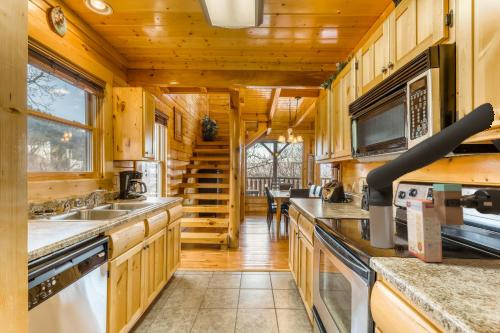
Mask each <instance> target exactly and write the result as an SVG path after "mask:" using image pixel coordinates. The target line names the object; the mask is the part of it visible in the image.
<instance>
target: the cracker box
mask: <svg viewBox="0 0 500 333" xmlns="http://www.w3.org/2000/svg"><path fill="white" fill-rule="evenodd" d="M406 220H407V221H406V222H407V223H406V224H407V242H408V243H407V244H408V253H410V254H412V255H414V256H415V257H416V258H418V259H419V260H421V261H422V262H424V263H435V262H442V263H443V250H442V249H443V248H442V230H441V229H442V228H441V225H442V224H440V223H436V222H435V212H434V205H433V204H432V199H431V200H430V199H425V198H406Z"/></svg>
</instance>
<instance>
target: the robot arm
mask: <svg viewBox="0 0 500 333" xmlns="http://www.w3.org/2000/svg"><path fill="white" fill-rule="evenodd" d="M494 115H495V114H494V111H493V107H492V105H491V104H490V103H488V102H485V103H483V104H480V105H479V106H477V107H476V108H474V109H473V110H470V111H469V112H468V113H467V114H465V115H464V116H462V117H461V118H459V119H458V120H457V121H455V122H454V123H452V124H450V125H449V126H447V127H444V128H443V129H441V130H440V131H438V132H436V133H435V134H432V135H430V136H429V137H427V138H426V139H424V140H422V141H420V142H418V143H416V144H415V145H413V146H412V147H410V148H409V149H407V150H406V151H404V152H403V153H401V154H400V155H398V156H397V157H395V158H394V159H392V160H390V161H389V162H386V163H385V164H382V165H379V166H377V167H375V168H373V169H371V170H370V171H369V172H368V173H367V175H366V177H365V183H366V184H367V186H368V187H369V198H368V212H369V213H368V215H369V217H368V218H369V234H370V236H369V238H370V241H369V242H370V246H371V247H374V248H378V249H393V248H395V245H396V243H395V223H394V222H395V220H394V203H393V202H394V182H395V181H397V180H398V179H400V178H401V177H404V176H406V175H408V174H410V173H412V172H415V171H418V170H421V169H423V168H425V167H428V166H430V165H432V164H434V163H435V162H438V161H439V160H442V159H444V158H445V157H446V156H448V155H449V154H451V153H453V151H454V150H455V149H456V148H458V147H459V146H460V145H461V144H463V143H464V142H465V141H467V140H469V139H470V138H471V137H473V136H475V135H478V134H479V133H481V132H482V131H484V130H486V129H489V128H491V126H490V125H492V122H493V121H494ZM489 141H490V142H491V143H492V144H493V145H494V146H495V147H496V149H498V151H499V152H500V139H496V140H489ZM431 200H432V204H433V205H434V197H432V198H431ZM444 206H446V207H461V208H463V209H469V210H470V209H472V210H475V211H476V212H478V213H479V214H480V215H481V214H482V215H500V188H481V189H480V188H479V189H477V190H475V191H474V193H473V194H462V198H460V199H445V200H444Z"/></svg>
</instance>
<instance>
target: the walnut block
mask: <svg viewBox="0 0 500 333" xmlns="http://www.w3.org/2000/svg"><path fill="white" fill-rule="evenodd" d="M462 186H463V185H462V183H433V184H432V188H433V198H434V212H435V222H436V223H440V224H441V225H444V226H464V224H465V221H464V207H463V208H461V207H446V206H444V200H445V199H460V198H462V196H463V190H462V188H463V187H462Z"/></svg>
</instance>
